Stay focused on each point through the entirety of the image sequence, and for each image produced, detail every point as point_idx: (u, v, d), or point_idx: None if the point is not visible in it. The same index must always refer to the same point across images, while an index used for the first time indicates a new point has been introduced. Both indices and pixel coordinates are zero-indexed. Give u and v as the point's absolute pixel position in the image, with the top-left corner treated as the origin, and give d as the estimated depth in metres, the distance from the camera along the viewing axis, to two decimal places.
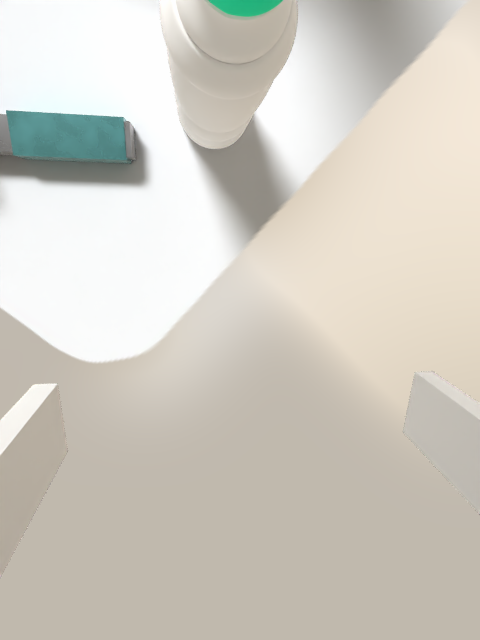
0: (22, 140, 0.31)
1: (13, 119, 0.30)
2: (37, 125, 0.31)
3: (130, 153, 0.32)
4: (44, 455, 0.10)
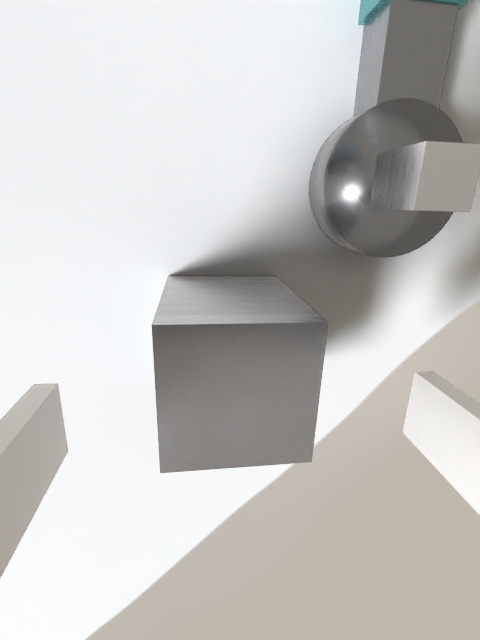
0: None
1: None
2: None
3: None
4: (44, 455, 0.10)
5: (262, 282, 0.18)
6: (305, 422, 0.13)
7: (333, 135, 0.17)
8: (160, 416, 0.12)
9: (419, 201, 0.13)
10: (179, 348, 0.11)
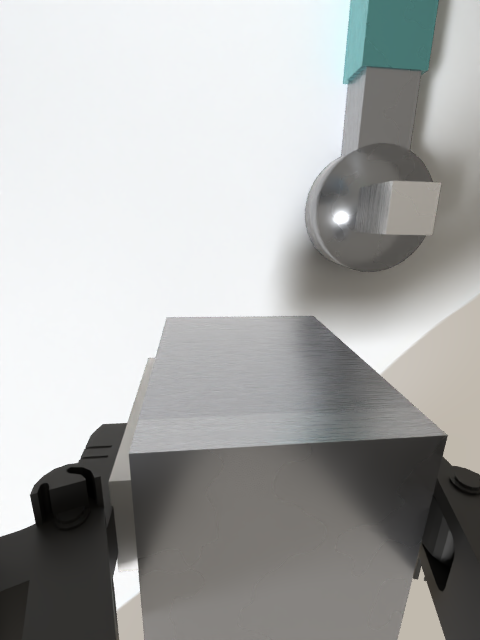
0: (408, 45, 0.17)
1: (374, 56, 0.17)
2: (386, 10, 0.17)
3: None
4: None
5: (299, 329, 0.13)
6: (393, 588, 0.08)
7: (324, 171, 0.20)
8: (146, 596, 0.07)
9: (390, 227, 0.16)
10: (180, 490, 0.06)
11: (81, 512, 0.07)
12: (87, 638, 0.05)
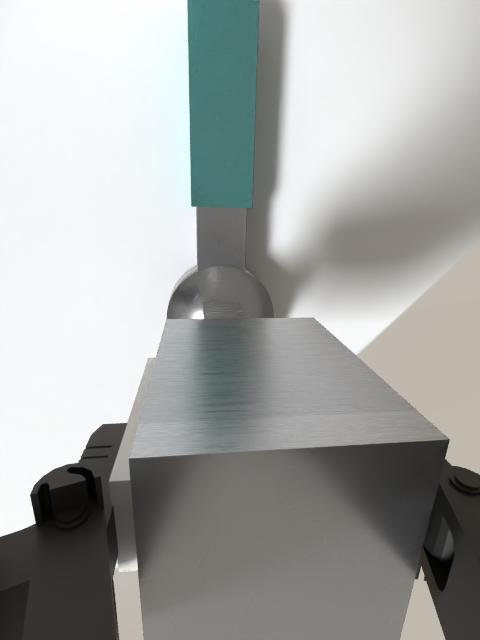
0: (231, 189, 0.20)
1: (202, 198, 0.20)
2: (208, 162, 0.19)
3: None
4: None
5: (299, 331, 0.12)
6: (394, 592, 0.08)
7: (178, 281, 0.23)
8: (146, 601, 0.07)
9: None
10: (181, 494, 0.06)
11: (81, 512, 0.07)
12: (87, 638, 0.05)
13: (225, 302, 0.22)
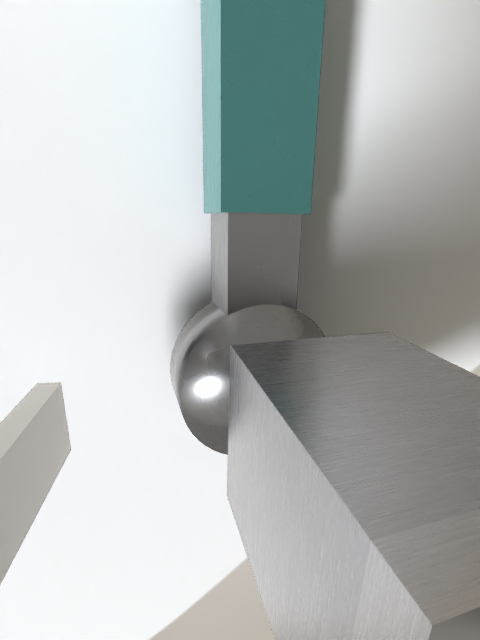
0: (282, 185, 0.12)
1: (237, 199, 0.12)
2: (248, 140, 0.12)
3: None
4: (48, 454, 0.10)
5: (393, 351, 0.11)
6: None
7: (188, 330, 0.15)
8: None
9: None
10: None
11: None
12: None
13: None
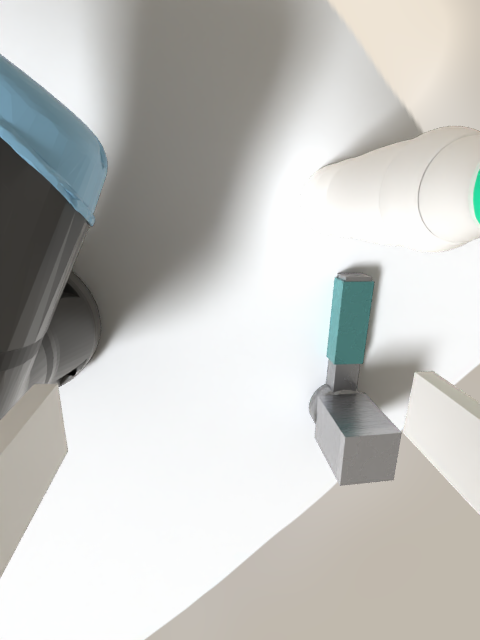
0: (353, 356, 0.40)
1: (339, 360, 0.40)
2: (344, 345, 0.40)
3: (369, 277, 0.38)
4: (44, 455, 0.10)
5: (362, 400, 0.40)
6: (392, 465, 0.36)
7: (318, 393, 0.43)
8: (343, 465, 0.35)
9: None
10: (352, 443, 0.34)
11: None
12: None
13: None
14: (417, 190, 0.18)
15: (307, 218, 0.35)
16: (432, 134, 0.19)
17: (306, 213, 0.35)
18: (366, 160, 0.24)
